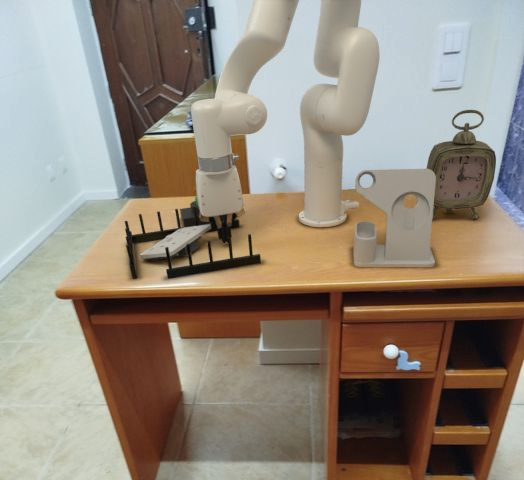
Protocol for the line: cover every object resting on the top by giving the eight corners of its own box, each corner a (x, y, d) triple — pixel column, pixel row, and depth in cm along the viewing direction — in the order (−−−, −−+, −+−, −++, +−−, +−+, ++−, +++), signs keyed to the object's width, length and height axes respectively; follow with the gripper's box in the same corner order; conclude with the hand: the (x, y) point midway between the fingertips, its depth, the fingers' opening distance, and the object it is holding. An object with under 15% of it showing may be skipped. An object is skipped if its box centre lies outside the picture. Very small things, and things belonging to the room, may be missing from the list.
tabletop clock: (424, 222, 121) (439, 114, 107) (419, 210, 129) (433, 107, 114) (484, 222, 120) (508, 112, 105) (475, 209, 127) (497, 104, 112)
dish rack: (238, 226, 127) (236, 200, 123) (260, 263, 108) (258, 233, 104) (129, 242, 122) (123, 216, 118) (133, 284, 103) (125, 254, 99)
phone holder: (352, 266, 104) (357, 183, 94) (351, 247, 112) (355, 168, 102) (435, 267, 102) (449, 181, 91) (428, 247, 110) (441, 166, 99)
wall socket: (186, 266, 106) (181, 248, 104) (129, 270, 112) (123, 253, 110) (217, 237, 121) (213, 221, 119) (165, 242, 126) (161, 227, 124)
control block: (223, 213, 135) (221, 195, 132) (229, 223, 129) (227, 204, 126) (181, 219, 133) (178, 201, 130) (184, 229, 127) (181, 211, 124)
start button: (208, 201, 130) (207, 194, 129) (210, 205, 127) (209, 198, 126) (195, 203, 130) (194, 195, 128) (197, 207, 127) (195, 200, 126)
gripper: (245, 154, 109) (252, 230, 120) (179, 163, 107) (192, 240, 118) (252, 162, 103) (259, 242, 114) (183, 172, 101) (197, 252, 112)
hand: (225, 241), depth 116 cm, fingers closed
